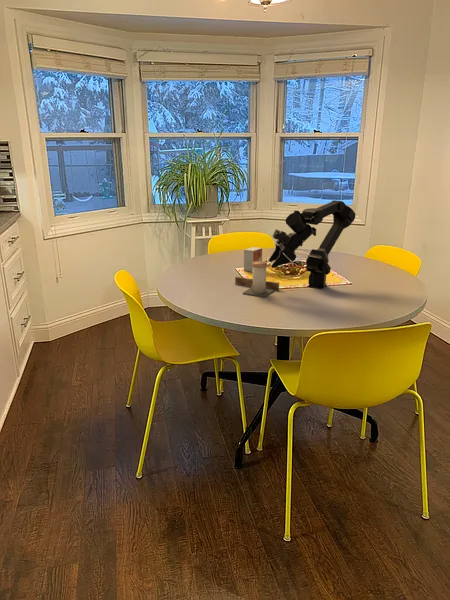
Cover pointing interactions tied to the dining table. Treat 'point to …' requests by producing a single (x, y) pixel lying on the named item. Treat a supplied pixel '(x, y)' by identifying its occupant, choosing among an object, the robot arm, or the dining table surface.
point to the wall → (249, 283)
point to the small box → (251, 257)
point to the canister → (259, 277)
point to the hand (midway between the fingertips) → (270, 264)
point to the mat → (249, 292)
